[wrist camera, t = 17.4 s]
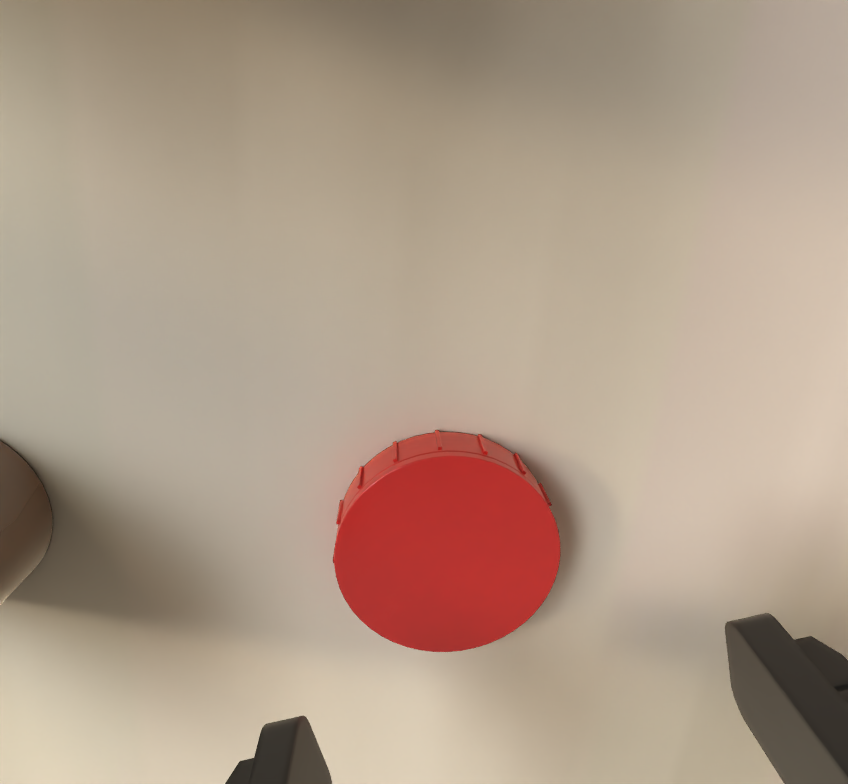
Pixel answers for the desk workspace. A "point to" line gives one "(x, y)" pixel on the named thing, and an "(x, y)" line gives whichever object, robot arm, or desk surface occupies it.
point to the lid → (445, 542)
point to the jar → (21, 520)
